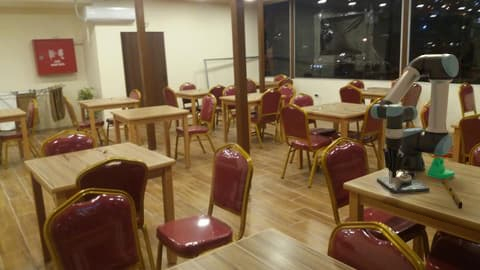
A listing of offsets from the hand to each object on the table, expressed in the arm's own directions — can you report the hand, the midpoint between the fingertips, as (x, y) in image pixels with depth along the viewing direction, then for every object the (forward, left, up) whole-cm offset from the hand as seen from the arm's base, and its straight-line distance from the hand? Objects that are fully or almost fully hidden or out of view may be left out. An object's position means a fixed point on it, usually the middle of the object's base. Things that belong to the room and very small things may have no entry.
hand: (392, 183), depth 194 cm
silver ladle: (-6, -2, -1) cm, 6 cm away
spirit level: (-24, +11, -4) cm, 27 cm away
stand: (-7, -5, -4) cm, 9 cm away
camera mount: (-34, -15, -4) cm, 37 cm away
